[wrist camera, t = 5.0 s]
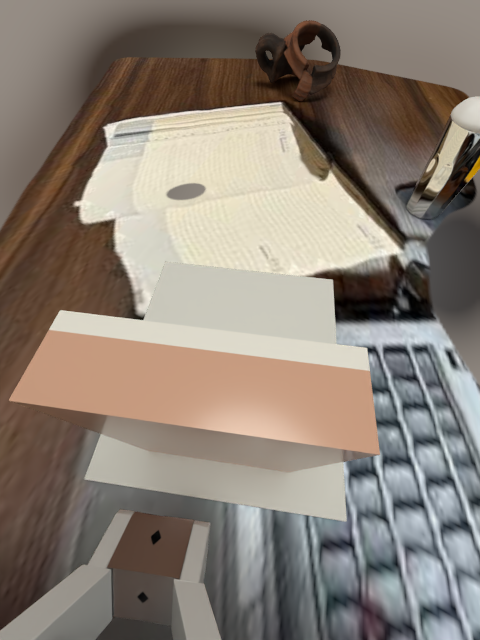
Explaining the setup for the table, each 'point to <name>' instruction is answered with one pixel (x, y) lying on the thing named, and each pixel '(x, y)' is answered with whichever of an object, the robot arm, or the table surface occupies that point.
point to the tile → (205, 391)
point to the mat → (246, 317)
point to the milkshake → (449, 162)
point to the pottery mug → (299, 57)
